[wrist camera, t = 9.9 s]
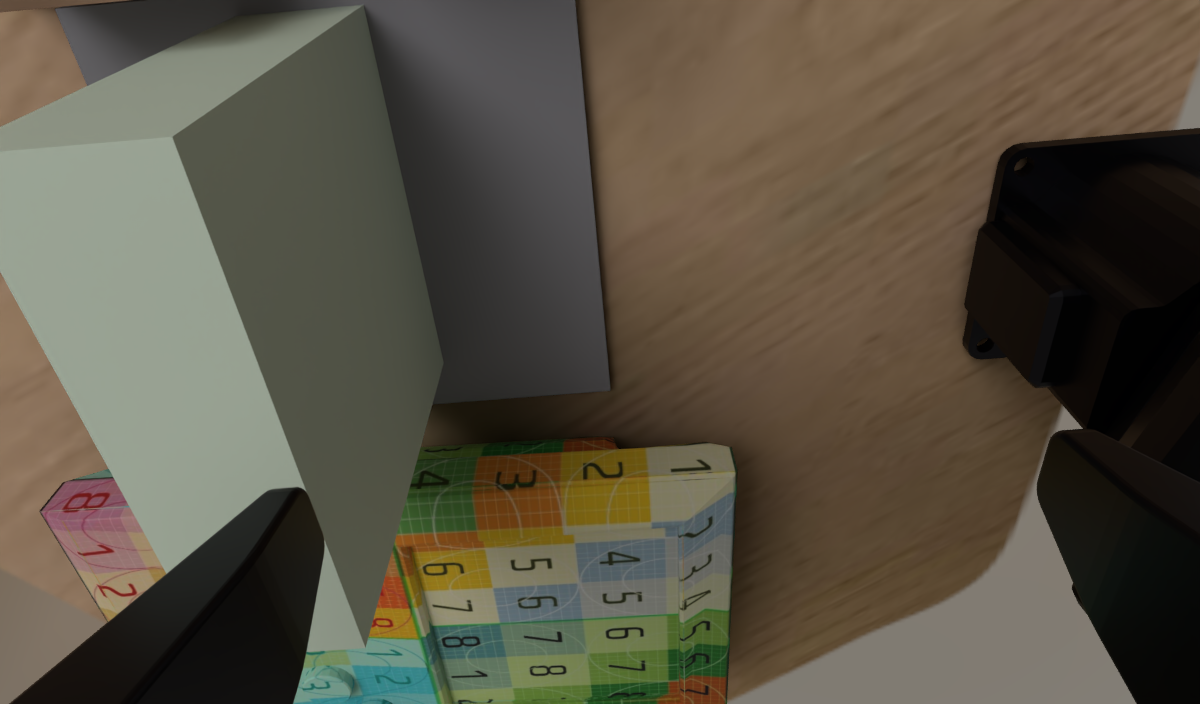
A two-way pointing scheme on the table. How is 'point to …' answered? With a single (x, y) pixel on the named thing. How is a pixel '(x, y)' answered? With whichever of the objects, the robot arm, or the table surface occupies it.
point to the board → (235, 288)
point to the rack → (44, 4)
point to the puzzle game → (506, 576)
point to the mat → (456, 170)
